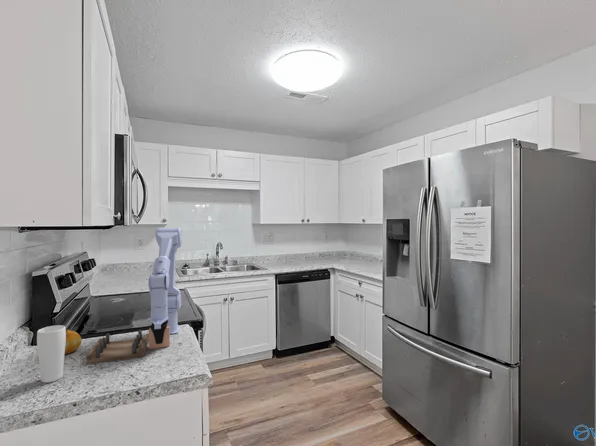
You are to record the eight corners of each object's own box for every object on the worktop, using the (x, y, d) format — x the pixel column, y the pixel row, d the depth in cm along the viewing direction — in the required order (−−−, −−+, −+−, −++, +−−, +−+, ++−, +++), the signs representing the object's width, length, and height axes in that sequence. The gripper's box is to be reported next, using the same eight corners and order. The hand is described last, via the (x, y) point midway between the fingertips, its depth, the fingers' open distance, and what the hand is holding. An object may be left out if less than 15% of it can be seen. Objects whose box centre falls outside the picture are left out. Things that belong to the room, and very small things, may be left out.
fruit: (43, 350, 110) (56, 329, 111) (58, 343, 118) (71, 324, 119) (64, 362, 110) (77, 341, 111) (78, 354, 118) (90, 334, 119)
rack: (99, 345, 119) (99, 333, 119) (149, 340, 125) (149, 328, 125) (86, 364, 104) (85, 350, 104) (143, 356, 109) (143, 343, 109)
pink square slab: (149, 346, 118) (149, 328, 118) (169, 344, 120) (169, 326, 120) (149, 348, 116) (148, 329, 116) (169, 346, 119) (169, 327, 119)
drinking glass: (50, 386, 90) (49, 333, 90) (31, 383, 92) (30, 332, 92) (71, 374, 97) (71, 325, 97) (53, 372, 98) (53, 324, 98)
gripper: (150, 302, 124) (150, 336, 124) (144, 312, 110) (145, 351, 110) (169, 300, 126) (169, 334, 126) (166, 310, 112) (166, 348, 112)
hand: (159, 342), depth 118 cm, fingers closed on pink square slab, 2 cm apart
